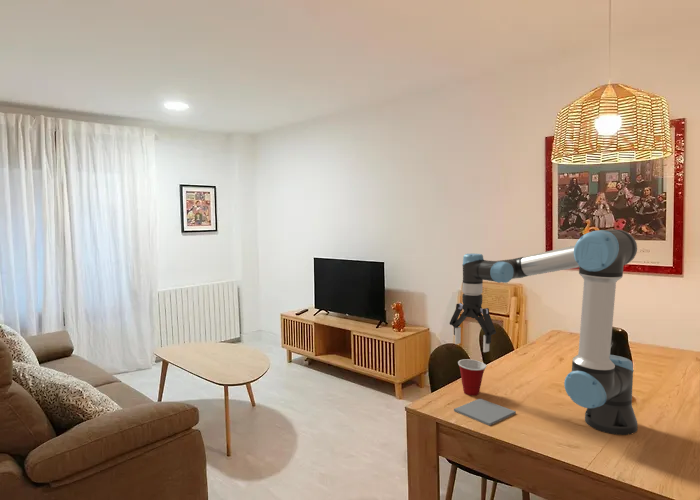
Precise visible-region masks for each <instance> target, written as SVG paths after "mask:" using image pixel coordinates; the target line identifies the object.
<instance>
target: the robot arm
mask: <svg viewBox="0 0 700 500" xmlns="http://www.w3.org/2000/svg"><path fill="white" fill-rule="evenodd" d="M637 253H638V245H637V241H636V239H635V238H634V236H633V235H632V234H630V233H629V232H628V231H625V230H622V229H605V230H603V229H601V230H599V229H597V230H593V231H589V232H587V233H585V234H583V235H581V237H580V238H579V239H578V240H577V241H576V243H575V244H574V245H570V246H566V247H562V248H556V249H552V250H548V251H544V252H539V253H538V252H537V253H534V254H530V255H524V256H520V257H516V258H510V259H502V260H487V259H484V255H483V254H482V253H465V254H464V255H463V258H462V290H461V291H462V298H461V299H462V301H461V302H459V303H456V304H455V310H454V312H453V315H452V317H451V319H450V321H449V325H450V326H452V327H453V335H454V344H455V345H459V344H461V343H462V341H461V339H462V336H461V335H462V334H461V333H462V327H461V325H462V324H463V322H464V321H465V320H466V318H471V319H474V320H475V321H477V323H478V325H479V327H481V329H482V331H483V332H484V334H483V338H482V339H483V341H482V343H483V344H482V348H483V349H482V352H483V353H487V352H490V344H491V343H492V336H493V335H496V334H497V330H496V328H495V326H494V323H493V320H492V318H491V315H490V309H489V308H488V307H486V308H483V307H482V305H483V284H484V283H483V281H487V282H488V281H489V282H495V283H499V284H500V283H502V284H504V283H505V284H508V283H509V282H510V281H511V280H514V279H522V278H525V277H531V276H537V275H541V274H546V273H548V274H549V273H554V272H559V271H565V270H569V269H576V268H579V269H578V274H579V275H580V276H581V278H582V279H583V288H582V290H583V291H582V301H581V302H582V303H581V315H580V316H581V317H580V326H579V327H580V330H579V340H578V341H579V343H578V353H577V355H575V356H574V357H573V358H572V362H571V371H570V372H569V373H568V374H567V375H566V376H565V379H564V382H563V384H564V386H563V387H564V390H565V393H566V395H567V396H568V397H569V398H570V400H571V401H572V402H574V403H575V404H576V405H578V406H580V407H582V408H584V409H586V411H585V412H584V422H585V423H586V424H587V425H588V426H589V427H591V428H592V429H594V430H597V431H599V432H603V433H607V434H612V435H619V436H627V435H628V434H629V435H633V434H635V433H637V431H638V420H637V417H636V414H635V412H634V411H635V410H634V407H633V384H634V383H633V382H634V371H635V370H634V365H633V361H632V360H630V359H629V358H627V357H623V356H620V355H614V354H611V348H612V347H611V346H612V336H613V324H614V323H613V322H614V313H615V312H614V311H615V302H616V301H615V299H616V288H617V282H618V281H620V280H621V279H622V278H623V275H624V266H626V265H628V264H630V263H631V262H632V261H633V260H634V258H635V257H636V256H637ZM461 312H462V313H461ZM632 433H633V434H632Z"/></svg>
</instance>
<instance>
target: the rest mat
mask: <svg viewBox="0 0 700 500" xmlns="http://www.w3.org/2000/svg"><path fill="white" fill-rule="evenodd" d="M453 411H454V412H455V413H458V414H460V415H463V416H465V417H467V418H470V419H472V420H475V421H477V422H479V423H482V424H484V425H487V426H493V425H494V424H496V423H499V422H501V421H502V420H505V419H507V418H509V417H511V416H513V415H515V414H517V413H516V410H513V409H510V408H508V407H505V406H501V405H499V404H497V403H494V402H491V401H488V400H486V399H484V398H477V399H475V400H473V401H470V402H467V403H465V404H462V405H460V406H458V407H455V408H453Z"/></svg>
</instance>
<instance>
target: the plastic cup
mask: <svg viewBox="0 0 700 500" xmlns="http://www.w3.org/2000/svg"><path fill="white" fill-rule="evenodd" d="M457 364H458V366H459V371H460V376H461V385H462V389H463V393H464V394H465V395H467V396H478V395H479V394H480V391H481V386H482V381H483V375H484V372H485V369H487V364H486V363H484V362H482V361H479V360H476V359H468V358H467V359H465V358H464V359H460V360H458V361H457Z"/></svg>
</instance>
